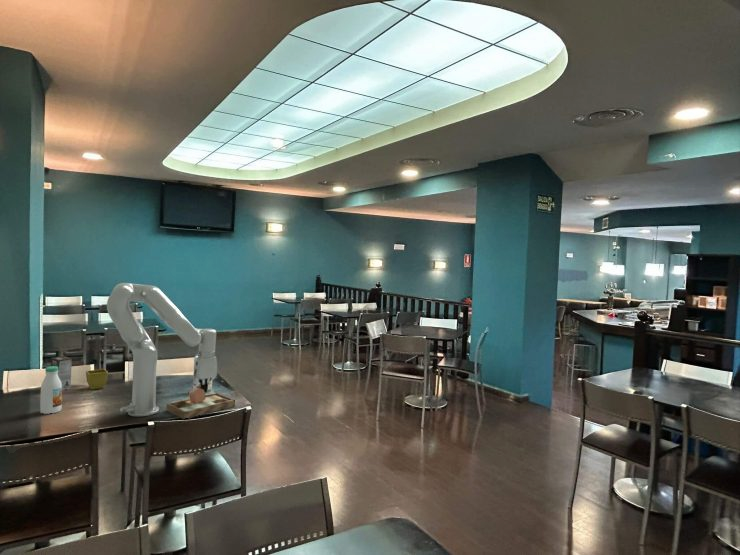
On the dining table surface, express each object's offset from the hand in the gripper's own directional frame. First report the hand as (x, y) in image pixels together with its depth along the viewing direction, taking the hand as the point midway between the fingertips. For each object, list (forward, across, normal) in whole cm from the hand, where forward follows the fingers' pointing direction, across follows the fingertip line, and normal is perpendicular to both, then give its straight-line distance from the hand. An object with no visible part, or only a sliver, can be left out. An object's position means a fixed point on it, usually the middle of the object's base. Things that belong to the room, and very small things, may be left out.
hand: (203, 391), depth 214 cm
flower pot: (+9, -25, +62) cm, 67 cm away
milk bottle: (+9, -52, +37) cm, 64 cm away
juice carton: (+7, +12, +21) cm, 25 cm away
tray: (+7, -3, -4) cm, 8 cm away
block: (+4, -3, 0) cm, 5 cm away
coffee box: (+9, -38, +73) cm, 83 cm away
